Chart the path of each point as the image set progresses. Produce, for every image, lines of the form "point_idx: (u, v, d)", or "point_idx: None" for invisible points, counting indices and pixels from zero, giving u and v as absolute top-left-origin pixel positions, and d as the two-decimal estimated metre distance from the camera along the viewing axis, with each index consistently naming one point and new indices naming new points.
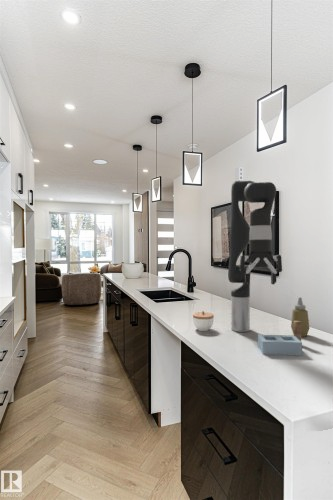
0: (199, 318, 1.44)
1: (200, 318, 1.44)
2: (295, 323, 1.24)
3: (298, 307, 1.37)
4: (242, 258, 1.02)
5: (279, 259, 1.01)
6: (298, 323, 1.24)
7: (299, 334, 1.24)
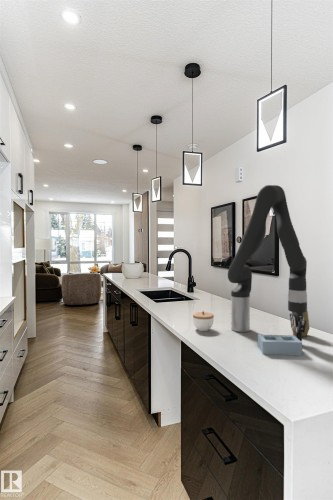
0: (199, 318, 1.44)
1: (200, 318, 1.44)
2: None
3: None
4: None
5: None
6: None
7: None
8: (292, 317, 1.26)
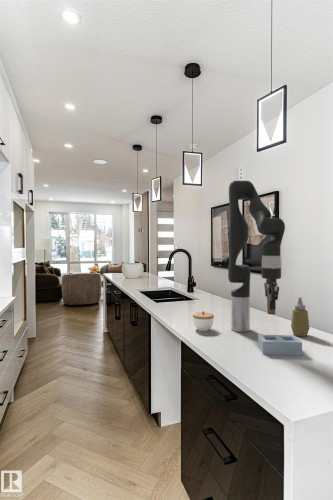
0: (199, 318, 1.44)
1: (200, 318, 1.44)
2: None
3: (298, 307, 1.37)
4: None
5: None
6: None
7: None
8: (266, 285, 1.19)
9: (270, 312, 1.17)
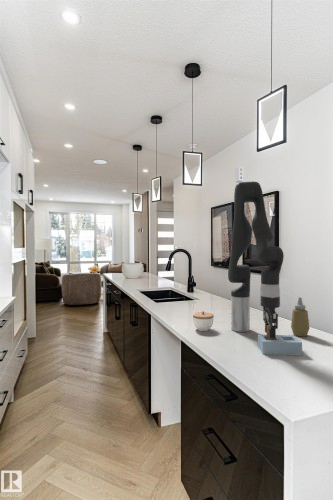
0: (199, 318, 1.44)
1: (200, 318, 1.44)
2: (268, 328, 1.17)
3: (298, 307, 1.37)
4: None
5: None
6: None
7: (272, 339, 1.17)
8: (265, 313, 1.20)
9: None
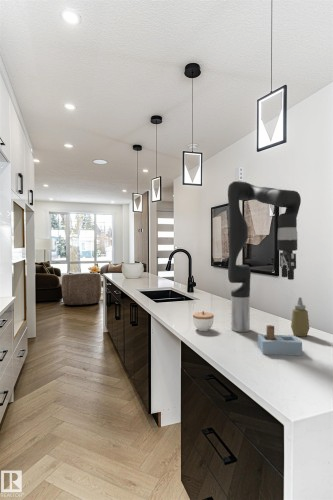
0: (199, 318, 1.44)
1: (200, 318, 1.44)
2: (268, 328, 1.17)
3: (298, 307, 1.37)
4: None
5: None
6: (271, 328, 1.17)
7: (272, 339, 1.17)
8: (282, 258, 1.20)
9: None
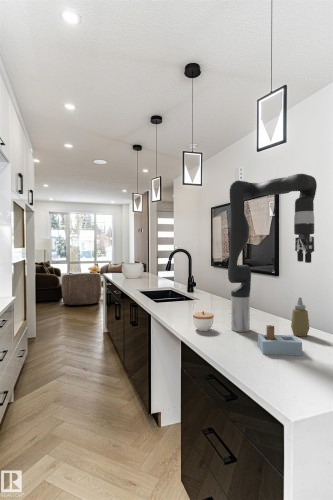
0: (199, 318, 1.44)
1: (200, 318, 1.44)
2: (268, 328, 1.17)
3: (298, 307, 1.37)
4: None
5: None
6: (271, 328, 1.17)
7: (272, 339, 1.17)
8: (298, 242, 1.21)
9: None
